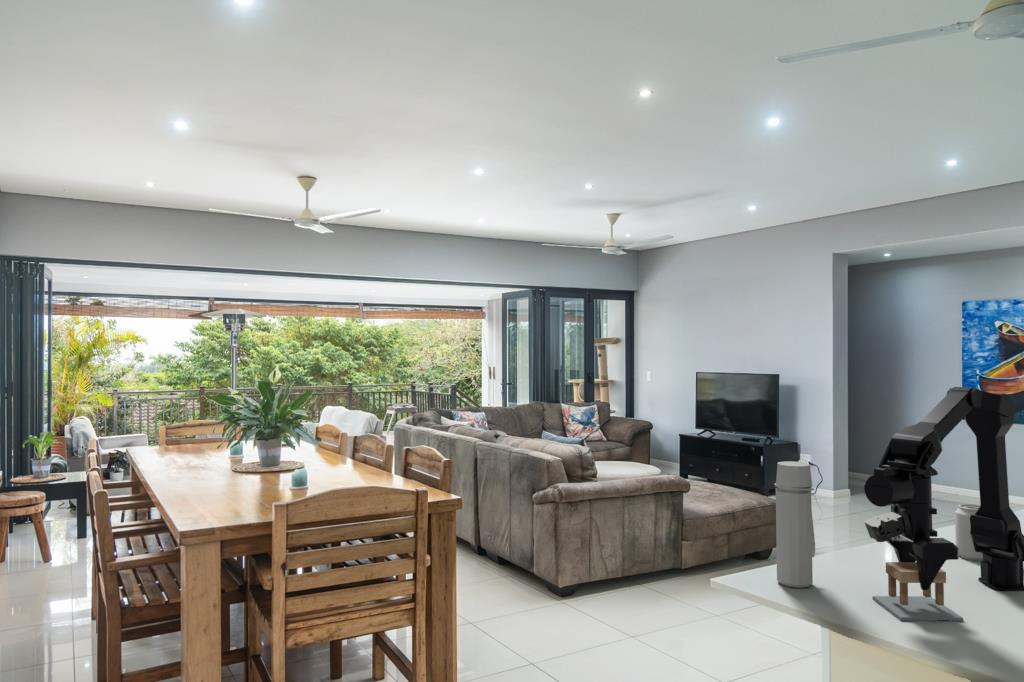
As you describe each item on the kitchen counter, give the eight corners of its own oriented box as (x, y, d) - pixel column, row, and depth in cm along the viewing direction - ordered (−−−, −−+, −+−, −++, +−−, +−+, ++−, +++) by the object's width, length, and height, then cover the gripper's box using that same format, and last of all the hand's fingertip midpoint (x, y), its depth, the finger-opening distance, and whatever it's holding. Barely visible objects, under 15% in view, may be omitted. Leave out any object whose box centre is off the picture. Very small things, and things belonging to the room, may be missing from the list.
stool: (886, 594, 136) (885, 562, 136) (929, 594, 136) (928, 562, 136) (901, 605, 130) (901, 571, 130) (946, 606, 130) (945, 572, 130)
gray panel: (930, 599, 138) (930, 596, 138) (963, 621, 127) (963, 617, 127) (872, 599, 139) (872, 596, 139) (900, 620, 128) (900, 617, 128)
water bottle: (795, 591, 143) (794, 467, 144) (767, 580, 151) (765, 462, 151) (829, 585, 147) (827, 464, 147) (800, 574, 154) (798, 459, 155)
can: (993, 555, 167) (992, 504, 167) (994, 564, 160) (993, 510, 161) (956, 551, 171) (955, 501, 171) (955, 559, 164) (954, 507, 165)
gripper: (849, 490, 143) (850, 568, 143) (894, 512, 124) (895, 601, 124) (906, 490, 143) (907, 568, 142) (959, 512, 124) (961, 601, 124)
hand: (915, 584), depth 133 cm, fingers closed on stool, 6 cm apart
